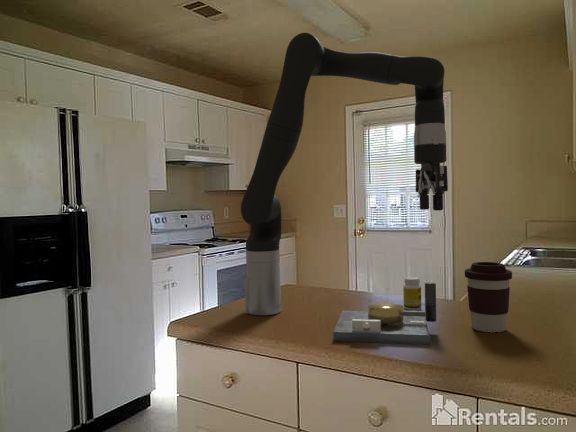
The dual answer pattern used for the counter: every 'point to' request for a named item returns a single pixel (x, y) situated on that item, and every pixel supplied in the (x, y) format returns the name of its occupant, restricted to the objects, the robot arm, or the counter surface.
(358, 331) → the stand
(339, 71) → the robot arm
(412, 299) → the supplement bottle
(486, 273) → the coffee cup
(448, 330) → the counter surface
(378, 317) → the cam capstan
